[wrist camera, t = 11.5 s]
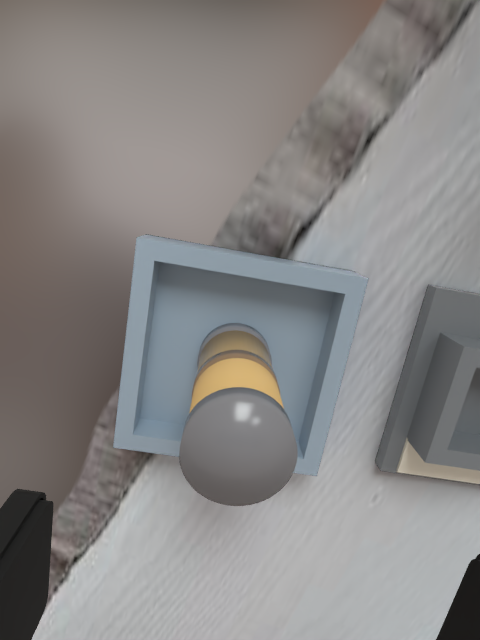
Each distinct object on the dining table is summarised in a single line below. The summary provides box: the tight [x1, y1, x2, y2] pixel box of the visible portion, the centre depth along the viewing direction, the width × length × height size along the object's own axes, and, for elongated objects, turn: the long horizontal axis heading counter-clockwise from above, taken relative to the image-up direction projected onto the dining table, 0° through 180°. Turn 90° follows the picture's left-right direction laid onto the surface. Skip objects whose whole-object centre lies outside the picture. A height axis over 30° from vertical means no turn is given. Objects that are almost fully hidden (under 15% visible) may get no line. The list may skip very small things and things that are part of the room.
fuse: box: [179, 323, 298, 506], centre depth 19 cm, size 4×4×10 cm
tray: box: [113, 234, 369, 476], centre depth 23 cm, size 12×12×2 cm
